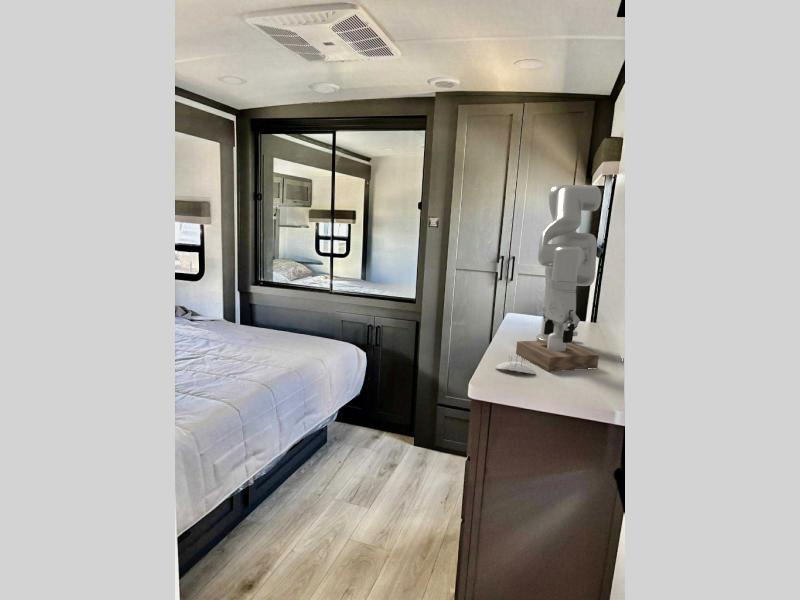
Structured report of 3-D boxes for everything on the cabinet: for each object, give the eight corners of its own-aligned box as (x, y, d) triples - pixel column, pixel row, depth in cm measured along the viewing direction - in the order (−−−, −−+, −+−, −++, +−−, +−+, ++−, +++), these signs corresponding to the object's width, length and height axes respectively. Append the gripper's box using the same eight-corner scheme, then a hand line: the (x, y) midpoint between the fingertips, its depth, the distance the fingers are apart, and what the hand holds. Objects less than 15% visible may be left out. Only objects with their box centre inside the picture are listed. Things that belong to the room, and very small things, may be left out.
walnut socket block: (560, 352, 157) (562, 339, 156) (597, 368, 140) (599, 354, 139) (515, 354, 151) (517, 341, 150) (548, 371, 134) (549, 357, 133)
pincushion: (493, 372, 132) (494, 354, 131) (495, 366, 138) (497, 348, 137) (535, 378, 128) (537, 359, 127) (536, 372, 134) (538, 354, 133)
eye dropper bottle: (563, 361, 142) (567, 324, 140) (545, 358, 145) (549, 322, 143) (565, 357, 146) (569, 322, 144) (547, 355, 149) (551, 319, 146)
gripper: (537, 282, 148) (532, 331, 151) (571, 290, 132) (564, 346, 135) (556, 282, 150) (551, 331, 154) (592, 290, 134) (585, 345, 137)
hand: (557, 338), depth 144 cm, fingers open, 9 cm apart
